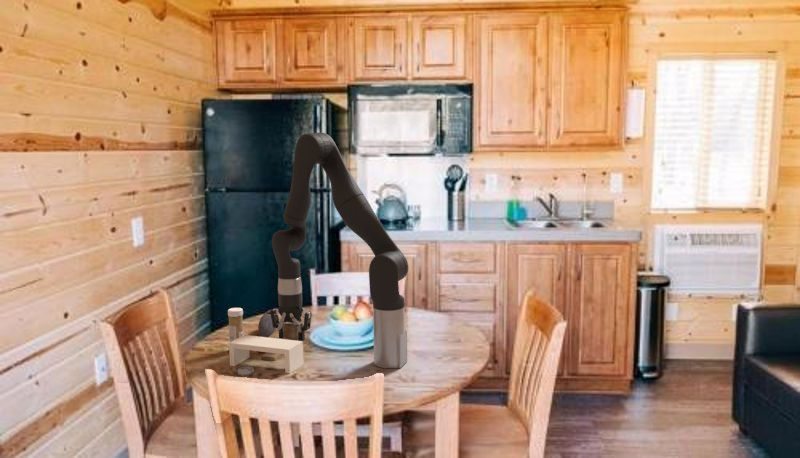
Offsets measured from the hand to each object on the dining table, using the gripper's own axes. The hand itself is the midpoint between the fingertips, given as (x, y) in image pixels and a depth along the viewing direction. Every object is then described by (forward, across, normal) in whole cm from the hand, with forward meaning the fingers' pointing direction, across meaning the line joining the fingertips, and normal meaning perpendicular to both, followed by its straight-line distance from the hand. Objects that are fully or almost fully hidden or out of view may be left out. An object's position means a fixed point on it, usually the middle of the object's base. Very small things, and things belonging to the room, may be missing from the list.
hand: (291, 341), depth 203 cm
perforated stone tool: (+1, +14, -8) cm, 16 cm away
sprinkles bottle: (+1, +14, +10) cm, 17 cm away
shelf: (+1, -2, +18) cm, 19 cm away
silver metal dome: (+1, 0, +26) cm, 26 cm away
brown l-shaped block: (+1, 0, +6) cm, 6 cm away
